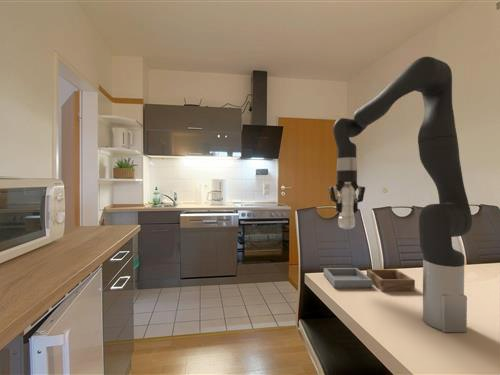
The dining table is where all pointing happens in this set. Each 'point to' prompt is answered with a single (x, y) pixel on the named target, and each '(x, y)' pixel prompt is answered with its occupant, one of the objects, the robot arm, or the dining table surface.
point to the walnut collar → (391, 280)
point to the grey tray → (347, 278)
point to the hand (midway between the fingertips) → (346, 212)
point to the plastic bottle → (347, 207)
